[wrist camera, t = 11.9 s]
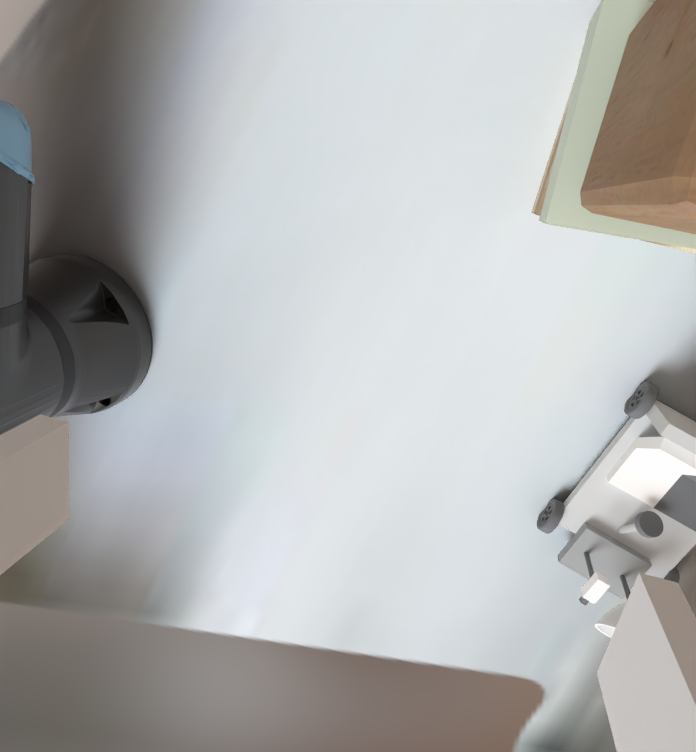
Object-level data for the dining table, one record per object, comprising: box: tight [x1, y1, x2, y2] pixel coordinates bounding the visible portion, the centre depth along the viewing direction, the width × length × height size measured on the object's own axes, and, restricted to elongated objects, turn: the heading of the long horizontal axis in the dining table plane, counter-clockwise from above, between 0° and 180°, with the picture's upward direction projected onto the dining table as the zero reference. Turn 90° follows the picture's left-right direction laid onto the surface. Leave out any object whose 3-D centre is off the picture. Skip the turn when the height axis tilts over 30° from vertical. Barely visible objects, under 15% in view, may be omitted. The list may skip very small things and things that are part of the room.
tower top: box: [539, 0, 696, 249], centre depth 34 cm, size 12×12×5 cm
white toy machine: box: [537, 382, 696, 638], centre depth 44 cm, size 18×10×12 cm
